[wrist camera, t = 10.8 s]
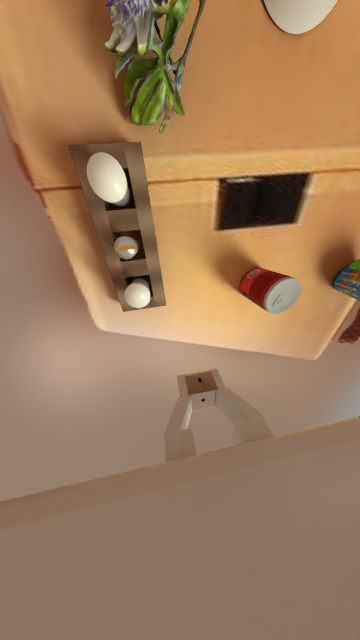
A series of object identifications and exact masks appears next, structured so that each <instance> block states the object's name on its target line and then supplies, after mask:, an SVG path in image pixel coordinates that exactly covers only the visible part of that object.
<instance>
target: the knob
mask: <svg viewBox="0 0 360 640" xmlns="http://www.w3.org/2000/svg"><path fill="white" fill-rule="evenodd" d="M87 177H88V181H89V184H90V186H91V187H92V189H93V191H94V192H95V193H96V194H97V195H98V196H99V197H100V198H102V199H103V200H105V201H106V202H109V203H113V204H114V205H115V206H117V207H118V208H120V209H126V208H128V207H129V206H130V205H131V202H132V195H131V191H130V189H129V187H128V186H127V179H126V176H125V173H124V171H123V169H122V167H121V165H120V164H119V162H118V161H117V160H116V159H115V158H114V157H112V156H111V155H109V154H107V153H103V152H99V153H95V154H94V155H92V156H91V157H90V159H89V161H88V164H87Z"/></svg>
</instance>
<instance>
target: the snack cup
mask: <svg viewBox="0 0 360 640" xmlns="http://www.w3.org/2000/svg"><path fill="white" fill-rule="evenodd" d="M334 288H335V289H336V290H338V291H339V292H342V293H344V294H346V295H348V296H350V297H352V298H355V299H357V300H359V301H360V260H356V261H355V262H353V263H352V264H351V265H350V266H349V267H347V268H345V269H343V270H342V271H341V272H340V273H339V274H338V276H337V277H336V279H335V281H334Z"/></svg>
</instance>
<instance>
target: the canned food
mask: <svg viewBox="0 0 360 640" xmlns="http://www.w3.org/2000/svg"><path fill="white" fill-rule="evenodd" d="M240 291H241V293H242V294H243V295H244V296H245V297H246V298H248V299H249V300H251V301H252V302H254V303H255V304H257V305H258V306H260V307H261V308H263V309H264V310H266V311H268V312H270V313H272V314H279V313H282V312H284V311H286V310H288V309H289V308H290V307H292V306H293V305H294V303H295V302H296V301H297V299H298V298H299V296H300V293H301V283H300V281H299V280H297V279H295V278H293V277H290V276H287V275H283V274H280V273H276V272H273V271H269V270H266V269H262V268H256V269H252V270H250V271H249V272H247V273H246V274H245V275H244V277H243V278H242V280H241V282H240Z"/></svg>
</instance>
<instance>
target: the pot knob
mask: <svg viewBox="0 0 360 640" xmlns="http://www.w3.org/2000/svg"><path fill="white" fill-rule="evenodd" d="M114 248H115V251H116V253H117V255H118V256H119V257H121V258H123V259H131V258H132V257H133V256H134V255H135V254H136V253H137V252H138V251H139V244H138V242H137V240H136V239H135V238H133V237H130V236H122V237H119V238H117V239H116V241H115V243H114Z"/></svg>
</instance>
